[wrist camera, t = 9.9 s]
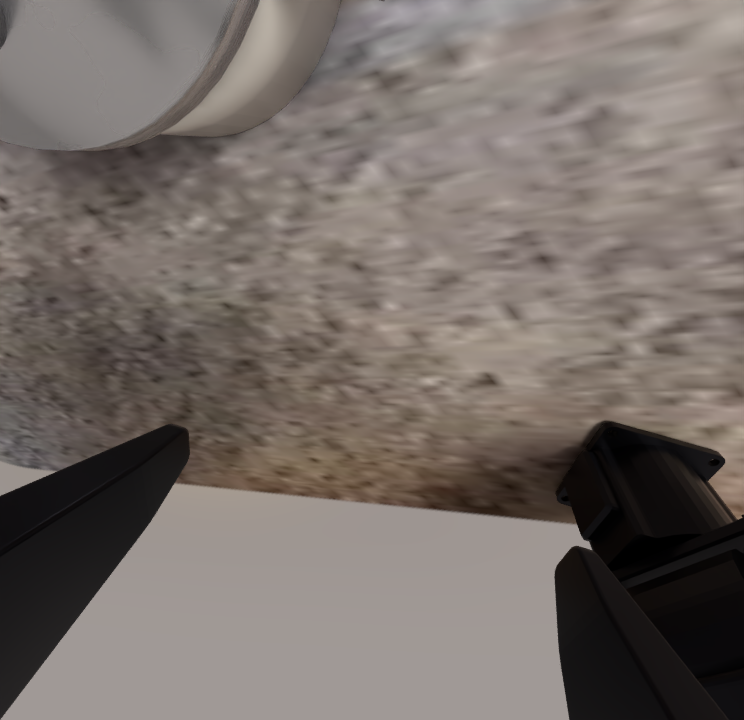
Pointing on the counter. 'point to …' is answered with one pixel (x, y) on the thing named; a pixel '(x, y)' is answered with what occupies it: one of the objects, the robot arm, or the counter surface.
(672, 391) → the counter surface
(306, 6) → the cooker pot
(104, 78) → the cooker lid
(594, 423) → the counter surface
